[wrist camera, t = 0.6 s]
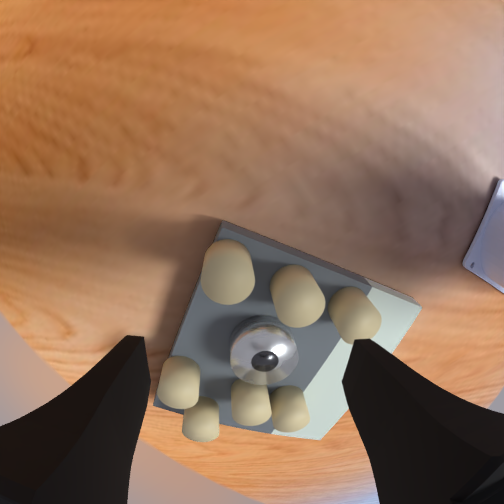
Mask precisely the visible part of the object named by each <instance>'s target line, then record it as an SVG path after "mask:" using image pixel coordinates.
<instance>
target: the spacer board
mask: <svg viewBox="0 0 504 504" xmlns="http://www.w3.org/2000/svg"><path fill="white" fill-rule="evenodd" d="M421 309H422V306H421V305H420V304H418V303H417V302H416V301H415V300H414V299H413V298H412V297H410V296H407V295H405V294H403V293H400V292H398V291H396V290H393V289H391V288H389V287H386V286H384V285H381V284H379V283H377V282H374V281H372V280H369V279H367V278H365V277H362V276H360V275H357V274H355V273H353V272H350V271H348V270H345V269H343V268H341V267H338V266H336V265H333V264H331V263H328V262H326V261H324V260H321V259H319V258H316V257H314V256H311V255H309V254H306V253H304V252H301V251H299V250H296V249H294V248H292V247H289V246H287V245H284V244H282V243H279V242H277V241H274V240H272V239H269V238H267V237H264V236H262V235H259V234H257V233H254V232H252V231H249V230H246V229H244V228H241V227H239V226H236V225H234V224H231V223H229V222H226V221H224V220H222V223H221V225H220V227H219V230H218V232H217V235H216V237H215V239H214V242H213V244H212V245H211V246H210V247H209V248H208V249H207V251H206V253H205V256H204V262H203V268H202V271H201V274H200V276H199V279H198V281H197V284H196V286H195V289H194V292H193V294H192V297H191V299H190V302H189V304H188V307H187V310H186V312H185V315H184V317H183V320H182V323H181V325H180V328H179V330H178V333H177V336H176V338H175V341H174V344H173V346H172V349H171V352H170V355H169V357H168V359H167V360H166V361H165V362H164V364H163V367H162V372H161V376H160V381H159V385H158V388H157V391H156V394H155V399H154V403H153V406H156V407H159V408H162V409H166V410H169V411H172V412H176V413H179V414H183V415H184V416H183V426H182V433H183V434H184V436H185V437H187V438H188V439H190V440H193V441H197V442H209V441H212V440H214V439H216V438H217V437H218V436H219V424H223V425H227V426H232V427H237V428H242V429H247V430H252V431H258V432H264V433H270V434H276V435H283V436H290V437H298V438H306V439H315V440H321V438H322V437H323V436H324V435H325V434H326V433H327V432H328V431H329V430H330V429H331V428H332V427H333V426H334V424H335V423H336V422H337V421H338V420H339V419H340V418H341V417H342V416H343V414H344V413H345V412H346V411H347V410H348V409H349V407H348V405H347V401H346V397H345V394H344V389H343V385H342V379H343V376H344V372H345V369H346V366H347V363H348V360H349V356H350V353H351V350H352V346H353V343H354V339H369V338H370V339H371V340H373V341H374V342H376V343H377V344H379V345H380V346H381V347H383V348H384V349H386V350H387V351H388V352H390V353H391V354H392V352H393V351H394V350H395V348H396V347H397V345H398V344H399V342H400V341H401V340H402V338H403V337H404V335H405V334H406V332H407V331H408V329H409V328H410V326H411V325H412V323H413V322H414V320H415V318H416V317H417V315H418V314H419V312H420V311H421ZM257 315H270V316H274V317H277V318H279V320H280V321H281V322H282V323H283V324H285V325H287V326H289V327H290V329H291V332H292V335H293V338H294V341H295V344H296V347H297V350H298V355H299V359H298V363H297V366H296V367H295V369H294V370H293V372H292V373H291V374H290V375H289V376H287V377H286V378H284V379H283V380H281V381H278V382H276V383H272V384H267V385H255V384H250V383H247V382H245V381H243V380H241V379H240V378H238V377H237V376H236V375H235V373H234V372H233V370H232V368H231V362H230V337H231V334H232V332H233V330H234V329H235V327H236V326H237V325H238V324H239V323H241V322H242V321H244V320H245V319H247V318H250V317H253V316H257Z"/></svg>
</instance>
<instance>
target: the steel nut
mask: <svg viewBox="0 0 504 504" xmlns="http://www.w3.org/2000/svg"><path fill="white" fill-rule="evenodd" d="M298 359H299V355H298V350H297V347H296V344H295V341H294V338H293V335H292V332H291V329H290V327H289V326H287V325H285V324H283V323H282V322H281V321H280V320H279V318H277V317H274V316H270V315H257V316H253V317H250V318H247V319H245V320H244V321H242V322H241V323H239V324H238V325H237V326H236V327H235V329H234V330H233V332H232V334H231V337H230V362H231V368H232V370H233V372H234V373H235V375H236V376H237V377H238V378H240V379H241V380H243V381H245V382H247V383H250V384H255V385H267V384H272V383H276V382H278V381H281V380H283V379H284V378H286V377H287V376H289V375H290V374H291V373H292V372H293V370H294V369H295V367H296V366H297V363H298Z"/></svg>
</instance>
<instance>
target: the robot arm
mask: <svg viewBox="0 0 504 504" xmlns="http://www.w3.org/2000/svg"><path fill="white" fill-rule="evenodd" d="M471 263H472V264H471ZM463 266H464V267H465V268H466V269H468V270H469V271H471V272H473V273H474V274H476V275H477V276H479V277H480V278H482V279H483V280H485V281H486V282H488V283H489V284H491V285H492V286H494V287H495V288H497V289H498V290H500V291H501V292H502V293H504V180H503V179H500V180H499V181H498V183H497V186H496V189H495V191H494V194H493V196H492V199H491V201H490V204H489V206H488V209H487V211H486V213H485V216H484V218H483V220H482V222H481V225H480V227H479V229H478V231H477V233H476V236H475V238H474V240H473V242H472V244H471V246H470V248H469V250H468V252H467V254H466V256H465V258H464V260H463ZM150 383H151V379H150V374H149V368H148V361H147V355H146V348H145V342H144V337H141V336H130V335H127V336H125V337H124V338H123V339H122V340H121V341H120V342H119V343H118V344H117V345H116V346H115V347H114V348H113V349H112V350H111V351H110V352H109V353H108V354H107V355H106V356H104V357H103V358H102V359H101V360H100V361H99V362H98V363H97V364H96V365H95V366H94V367H93V368H92V369H91V370H89V371H88V372H87V373H86V374H85V375H84V376H82V377H81V378H80V379H79V380H78V381H77V382H75V383H74V384H73V385H72V386H70V387H69V388H68V389H67V390H65V391H64V392H63V393H61V394H60V395H58V396H57V397H55V398H54V399H52V400H51V401H49V402H48V403H46V404H44V405H43V406H41V407H39V408H38V409H36V410H34V411H32V412H30V413H28V414H27V415H25V416H23V417H21V418H19V419H16V420H14V421H12V422H10V423H7V424H5V425H2V426H0V504H127V499H128V488H129V478H130V471H131V464H132V459H133V455H134V451H135V448H136V443H137V440H138V436H139V433H140V429H141V426H142V422H143V418H144V415H145V411H146V408H147V403H148V396H149V390H150ZM342 385H343V389H344V394H345V397H346V401H347V405H348V407H349V410H350V412H351V415H352V417H353V420H354V422H355V424H356V427H357V429H358V431H359V434H360V436H361V439H362V441H363V444H364V446H365V448H366V451H367V454H368V456H369V459H370V463H371V467H372V470H373V474H374V478H375V483H376V487H377V492H378V497H379V502H380V504H504V414H502V413H498V412H495V411H492V410H489V409H486V408H483V407H480V406H478V405H475V404H473V403H470V402H468V401H466V400H463V399H461V398H459V397H457V396H455V395H453V394H451V393H450V392H448V391H446V390H444V389H442V388H440V387H439V386H437V385H435V384H434V383H432V382H431V381H429V380H428V379H426V378H424V377H423V376H421V375H420V374H418V373H417V372H416V371H414V370H413V369H411V368H410V367H409V366H407V365H406V364H404V363H403V362H402V361H400V360H399V359H398V358H396V357H395V356H394V355H392V354H391V353H390V352H388V351H387V350H386V349H384V348H383V347H381V346H380V345H379V344H377V343H376V342H374V341H373V340H371V339H370V338H369V339H354V343H353V346H352V350H351V353H350V356H349V360H348V363H347V366H346V369H345V372H344V376H343V379H342Z"/></svg>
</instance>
